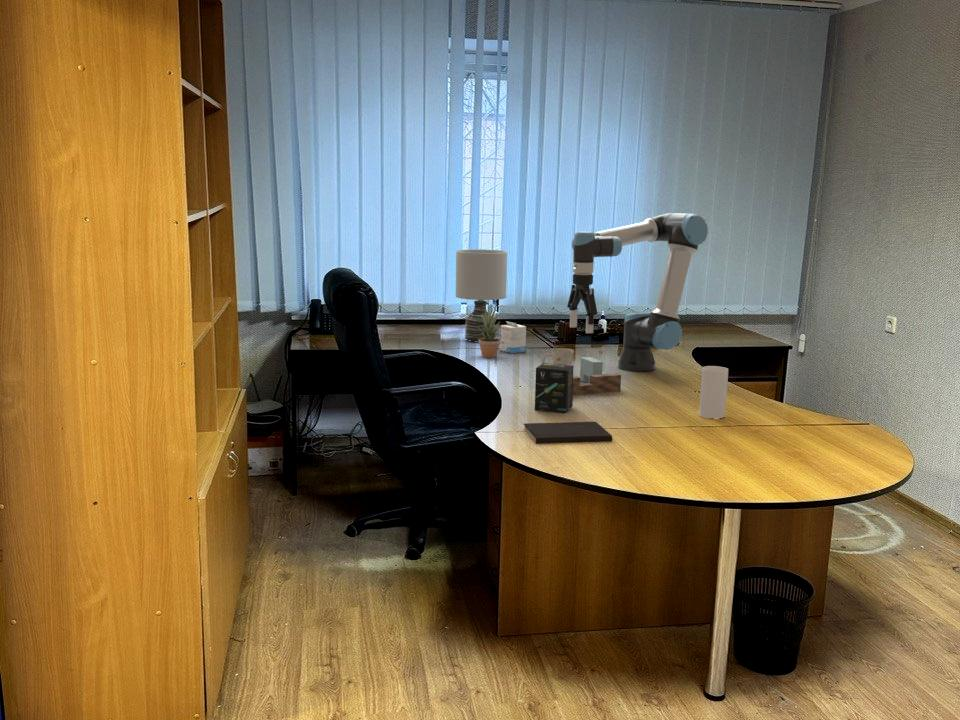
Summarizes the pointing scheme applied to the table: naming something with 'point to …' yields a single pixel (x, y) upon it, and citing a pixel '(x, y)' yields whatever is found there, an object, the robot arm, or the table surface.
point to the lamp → (480, 284)
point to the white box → (513, 338)
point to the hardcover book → (567, 432)
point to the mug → (560, 356)
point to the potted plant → (489, 335)
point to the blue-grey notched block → (589, 368)
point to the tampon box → (554, 388)
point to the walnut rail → (598, 384)
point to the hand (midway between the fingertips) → (581, 330)
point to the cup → (713, 392)
